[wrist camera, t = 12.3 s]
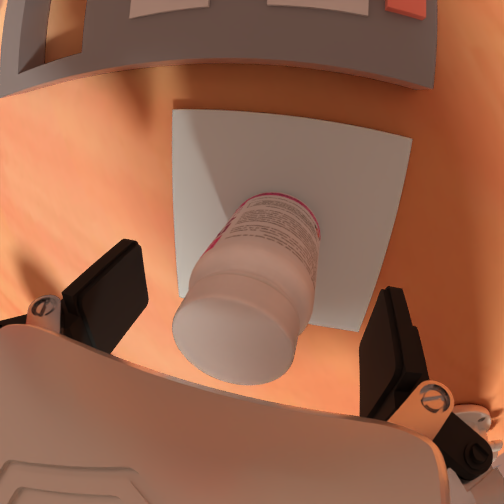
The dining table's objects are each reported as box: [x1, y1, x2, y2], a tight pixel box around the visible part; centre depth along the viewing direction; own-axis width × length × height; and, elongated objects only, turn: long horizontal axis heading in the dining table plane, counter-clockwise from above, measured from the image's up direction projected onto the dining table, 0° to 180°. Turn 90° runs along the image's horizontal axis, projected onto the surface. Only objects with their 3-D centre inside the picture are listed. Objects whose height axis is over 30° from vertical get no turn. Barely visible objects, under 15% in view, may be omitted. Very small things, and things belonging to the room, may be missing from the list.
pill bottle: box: [172, 191, 321, 385], centre depth 13 cm, size 5×5×8 cm
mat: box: [172, 109, 413, 332], centre depth 16 cm, size 12×12×1 cm
